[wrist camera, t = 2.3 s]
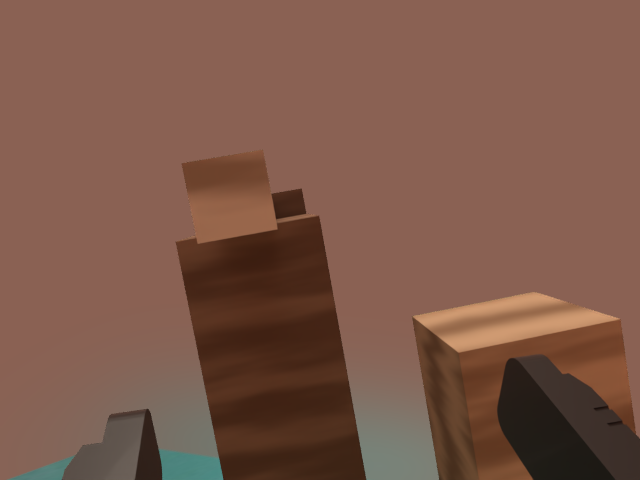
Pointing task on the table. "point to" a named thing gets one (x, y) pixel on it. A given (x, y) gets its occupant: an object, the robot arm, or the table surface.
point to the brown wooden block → (229, 196)
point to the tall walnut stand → (273, 351)
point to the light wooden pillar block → (488, 369)
